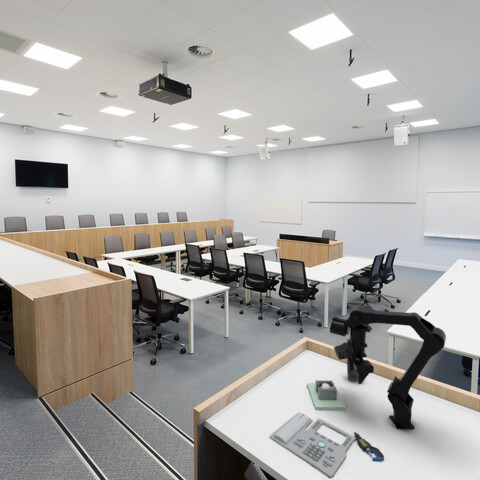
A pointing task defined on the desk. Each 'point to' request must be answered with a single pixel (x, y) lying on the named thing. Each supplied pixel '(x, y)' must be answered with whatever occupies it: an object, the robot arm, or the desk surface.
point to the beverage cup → (351, 374)
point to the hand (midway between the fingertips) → (355, 377)
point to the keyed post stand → (325, 404)
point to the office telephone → (313, 443)
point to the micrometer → (369, 448)
